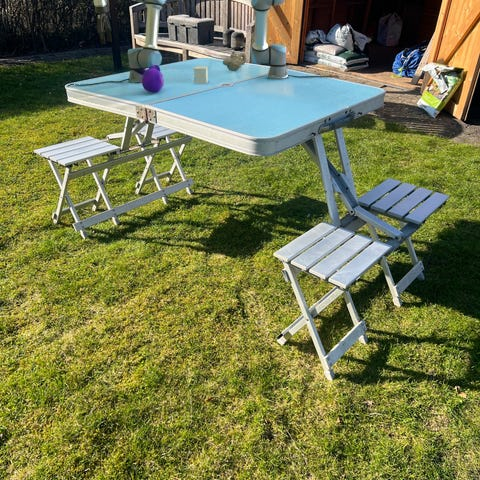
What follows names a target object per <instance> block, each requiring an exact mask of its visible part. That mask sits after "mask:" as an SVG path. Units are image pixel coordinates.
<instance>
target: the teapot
mask: <svg viewBox="0 0 480 480" xmlns="http://www.w3.org/2000/svg"><path fill="white" fill-rule="evenodd" d="M241 58H242V60H241ZM246 62H247V56H246V54H245V53H244V52H241V53H239V54H238V55H237V53H236V52H235V50H233V51H231V54H230V57H225V58H224V59H222V65H224V66H226V68H227V69H228V71H230V72H237V71H238V70H239V69H241V68H242V66H243V65H245V64H246Z"/></svg>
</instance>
